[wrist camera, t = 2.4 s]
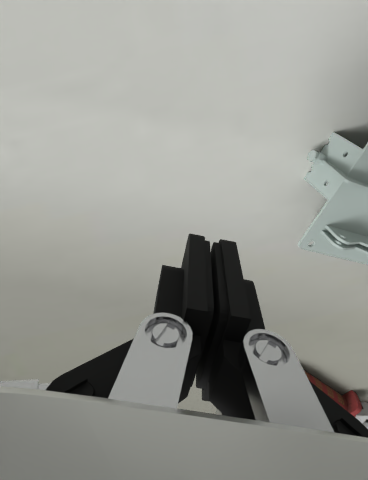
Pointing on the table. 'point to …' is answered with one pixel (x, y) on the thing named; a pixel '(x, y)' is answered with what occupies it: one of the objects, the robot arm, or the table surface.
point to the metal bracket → (340, 201)
